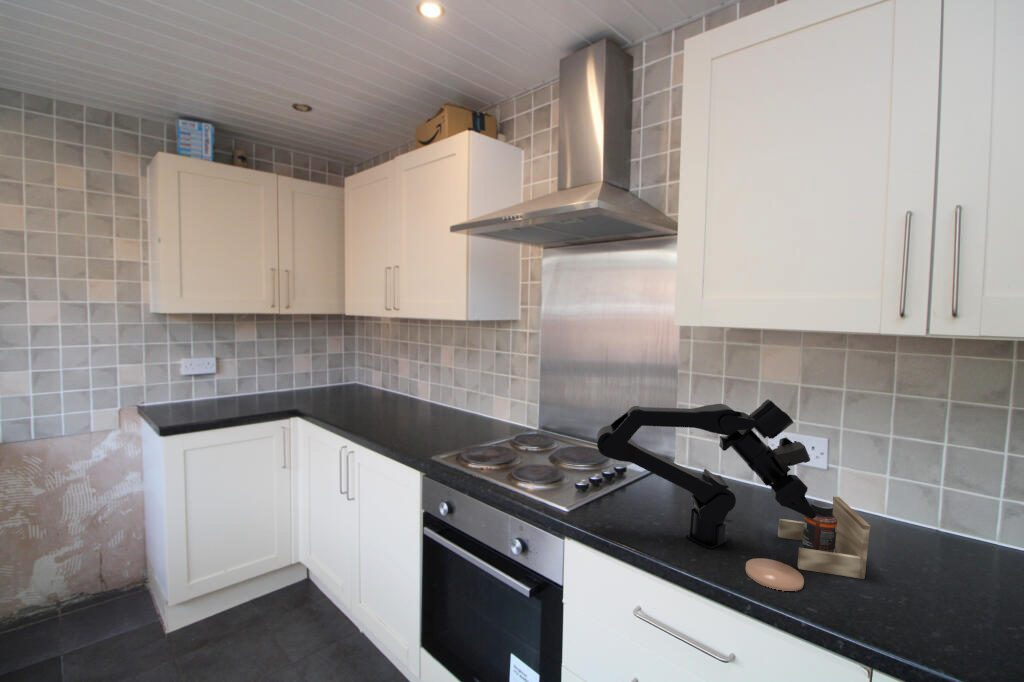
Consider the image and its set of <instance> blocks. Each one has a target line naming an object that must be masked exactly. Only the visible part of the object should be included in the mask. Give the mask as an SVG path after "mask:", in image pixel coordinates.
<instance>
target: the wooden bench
mask: <svg viewBox="0 0 1024 682" xmlns="http://www.w3.org/2000/svg"><path fill="white" fill-rule="evenodd" d="M832 500H833V501H832V506H833V515H834V516H835V517H836V519H837V534H836V545H835V553H833V552H826V551H819V550H813V549H806V548H802V547H798V555H797V557H798V559H797V568H798V569H799V570H804V571H811V572H817V573H822V574H829V575H837V576H844V577H848V578H856V579H860V580H861V579H862V580H865V578H866V577H865V576H866V567H867V559H868V558H867V557H868V549H869V541H870V540H869V539H870V531H871V528H872V527H871V525H870V524H869V522H867V521H866V520H865V519H864V518H863V517H861V516H860V515H859V514H858V513H857V512H856V511H855V510H854V509H853V508H851V507H850V506H849V504H847V503H846V502H845V501H844V500H843V499H842V498H841V497H840V496H832ZM803 530H804V521H799V520H792V519H785V518H779V521H778V530H777V537H778V538H782V539H789V540H790V539H791V540H795V541H802V542H803Z"/></svg>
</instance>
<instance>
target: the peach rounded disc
mask: <svg viewBox="0 0 1024 682" xmlns="http://www.w3.org/2000/svg"><path fill="white" fill-rule="evenodd" d="M745 573H746V574H747V576H748V577H749V578H750V579H751V580H752V579H753V581H754V582H756V583H757V584H759V585H760V586H763V587H765V586H766V587H765V588H768V587H769V588H768V589H771V588H772V590H774V589H776V590H775V591H778V590H782V591H781V592H784V591H795V592H798V590H799V591H800V590H802V589H803V587H804V584H805V583H804V582H805V579H804V576H803V575H802V574H801V572H800V571H798V570H797V569H795V568H794V567H792V566H791V565H788V564H785V563H784V562H781V561H779V560H775V559H770V558H763V557H762V558H759V557H758V558H752V559H749V560H747V561H746V563H745Z"/></svg>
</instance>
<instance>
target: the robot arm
mask: <svg viewBox="0 0 1024 682" xmlns="http://www.w3.org/2000/svg"><path fill="white" fill-rule="evenodd" d="M793 424H794V420H793V419H792V418H791V417H790V415H788V413H787V412H785V411H783V410H782V409H781V408H780V407H779V406H777V405H776V404H775V402H773V401H772V400H770V399H769V398H768V399H765V401H764V402H762V404H761V405H760V406H758V408H756V409H755V410H754V411H752V412H751V413H750V414H748V413H746V412H744V411H739V410H734V409H733V408H731V407H730V406H728V405H727V404H725V403H715V404H705V405H703V406H699V407H692V408H685V407H684V408H683V407H682V408H680V407H679V408H678V407H653V406H652V407H651V406H650V407H649V406H645V407H644V406H639V405H635V406H632V407H630V408H629V409H628V410H627V411H626V412H625V413H623V415H621V416H619V417H618V418H616V419H615V420H614V421H613V422H611V424H610V425H605V426H603V427H601V428H600V429H599V430H598V432H597V434H596V443H597V444H596V445H597V447H596V448H597V449H598V453H600V454H601V456H603V457H606V458H609V459H612V460H615V461H618V462H624V463H631V464H634V465H636V466H638V467H639V468H642V469H644V470H646V471H648V472H650V473H651V474H654V475H655V476H658V477H660V478H662V479H663V480H665V481H668V482H670V483H672V484H673V485H676V486H678V487H679V488H682V489H683V490H686V491H688V492H689V493H691V496H690V499H691V502H692V505H693V506H694V508H691V509H690V520H689V521H690V522H689V532H688V533H685V535H684V536H685V538H686V539H688V540H691V541H693V542H695V543H697V544H699V545H701V546H703V547H706V548H708V549H710V550H711V549H714V548H716V547H718V546H720V545H722V544H724V543H726V542H727V538H725V537H726V524H725V520H726V518H727V516H728V514H729V512H731V511H733V509H734V507H735V505H736V503H737V502H736V501H737V499H736V495H735V494H734V492H733V491H732V489H731V488H730V487H729V485H728V483H727V482H726V481H725V480H724V478H723V477H722V476H721V475H718V474H714V473H713V472H711V471H710V470H708V469H706V468H704V469H703V473H699V472H698V473H697V472H693V471H691V470H689V469H687V468H685V467H683V466H681V465H680V464H677V463H675V462H673V461H671V460H670V459H668V458H665V457H663V456H661V455H659V454H657V453H655V452H654V451H651V450H649V449H647V448H644V447H643V446H641V445H640V444H638V443H636V442H635V441H634V440H633V439H632V437H633V436H634V435H635V434H636V433H637V431H638V430H639V429H640V428H641V427H663V428H664V427H666V428H686V429H687V428H689V429H690V428H694V429H698V430H703V431H706V432H707V433H713V434H717V435H719V447H720V448H721V450H722V451H723V452H725V451H727V450H728V449H729V448H732V449H733V451H734V452H736V454H737V455H738V456H739V457H740V458H741V459H742V460H743V461H744V463H746V464H747V467H749V469H751V470H752V472H753V473H755V474H756V475H757V477H759V479H760V480H761V481H762V483H764V484H763V485H765V486H766V487H767V486H769V487H770V494H771V496H772V497H773V498H774V499H775V500H776V501H777V503H778V504H779V505H780V506H781V507H784V508H788V509H790V510H792V511H794V512H797V513H799V514H801V515H803V516H804V517H805V516H807V517H809V518H811V519H813V518H815V517H816V514H815V512H814V511H813V509H812V508H811V503H809V500H808V499H807V498H806V493H807V492H808V488H809V487H808V486H807V485H806V484H805V483H804V482H803V481H802V480H801V478H800V477H798V476H797V474H790V473H789V472H790V471H791V470H792V469H791V468H790V467H791V466H795V465H800V464H803V463H809V462H810V461H811V458H810V454H809V453H808V450H807V448H806V446H805V445H804V444H803V443H802V442H800V441H797V440H795V441H792V440H790V439H789V438H788V437H783V438H780V439H779V445H777V446H776V448H774V449H772V448H771V447H770V445H767V444H766V443H765V442H764V441H763V440H762V439H761V438H760V437H759V436H758V435H757V434H756V433H755V432H754V431H753V430H755V431H756V432H757V433H758V434H759V435H760V436H761V437H762V438H763V439H766V438H768V439H769V440H771V439H772V440H774V439H775V438H777V436H779V435H780V434H781V433H783V432H784V431H785V430H786V429H788V428H789V427H790V426H792V425H793ZM720 448H719V449H720Z"/></svg>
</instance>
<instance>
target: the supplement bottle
mask: <svg viewBox="0 0 1024 682" xmlns="http://www.w3.org/2000/svg"><path fill="white" fill-rule="evenodd" d="M810 506H811V508H812V509H813V511H814V512H815V514H816V517H815V518H813V519H811V518H809V517H807V516H805V515H804V520H803V522H804V530H803V541H802V545H801V546H802V547H801V548H806V549H813V550H819V551H826V552H833V553H836V550H835V545H836V534H837V519H836V517H835V516H834V515H833V504H830V503H828V502H824V501H821V500H820V501H819V500H813V501H811V503H810Z"/></svg>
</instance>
